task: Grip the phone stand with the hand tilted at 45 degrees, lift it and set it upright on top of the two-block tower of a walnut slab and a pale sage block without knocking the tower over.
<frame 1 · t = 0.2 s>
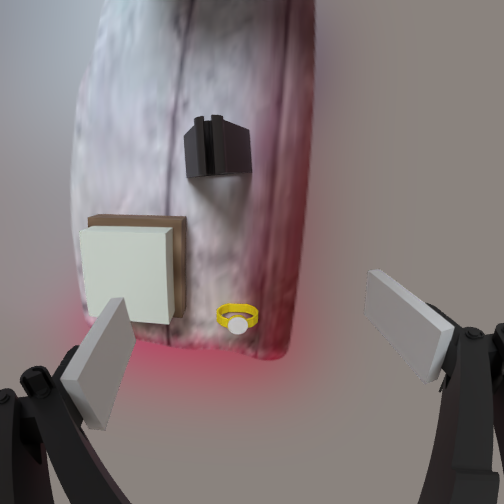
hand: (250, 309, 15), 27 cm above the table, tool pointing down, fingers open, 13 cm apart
phone stand: (217, 153, 39), on the table
lower block: (141, 260, 42), on the table, touching upper block
upper block: (132, 269, 39), point 3 cm above the table, touching lower block
watch: (237, 306, 45), on the table
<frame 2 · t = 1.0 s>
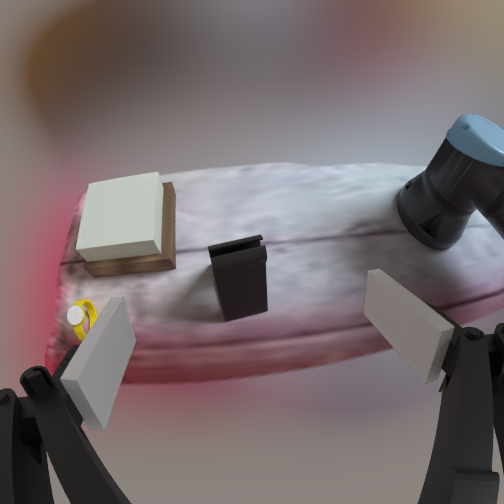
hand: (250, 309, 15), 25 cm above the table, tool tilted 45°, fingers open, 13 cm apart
phone stand: (238, 287, 42), on the table
lower block: (135, 235, 46), on the table, touching upper block
upper block: (125, 223, 42), point 3 cm above the table, touching lower block
watch: (94, 325, 38), on the table
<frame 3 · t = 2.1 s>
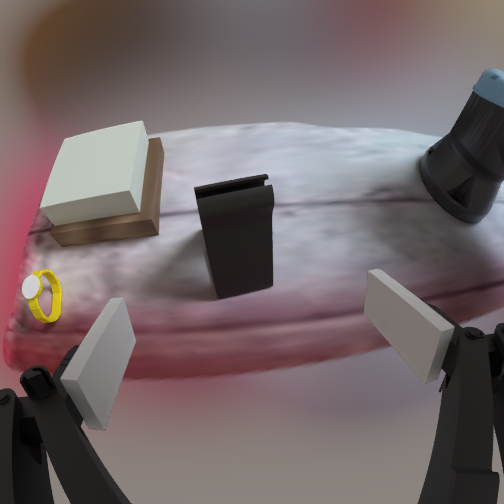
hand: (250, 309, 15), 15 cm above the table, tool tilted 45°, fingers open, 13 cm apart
phone stand: (235, 257, 33), on the table
lower block: (114, 199, 37), on the table, touching upper block
upper block: (101, 180, 34), point 3 cm above the table, touching lower block
watch: (58, 304, 30), on the table
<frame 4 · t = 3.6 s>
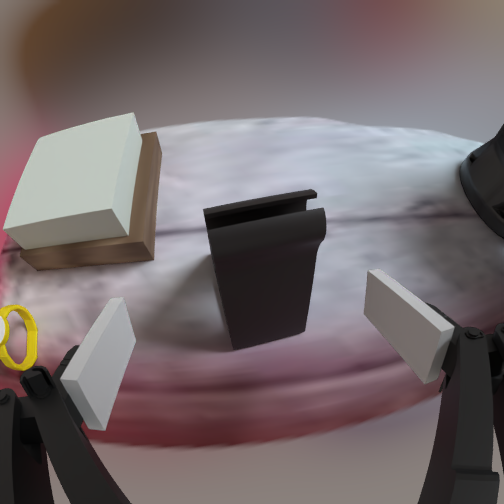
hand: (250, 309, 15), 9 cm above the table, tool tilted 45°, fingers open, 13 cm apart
phone stand: (255, 292, 25), on the table
lower block: (99, 210, 29), on the table, touching upper block
upper block: (82, 191, 25), point 3 cm above the table, touching lower block
watch: (34, 344, 22), on the table
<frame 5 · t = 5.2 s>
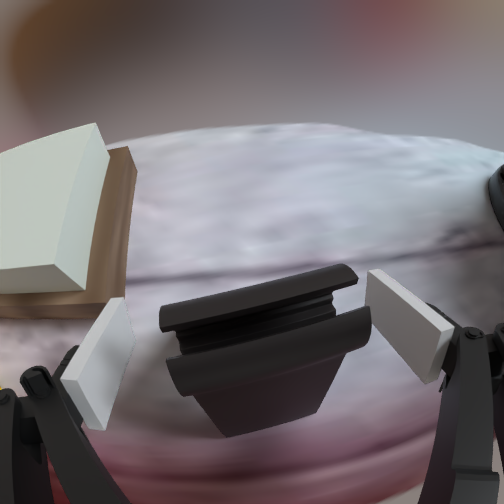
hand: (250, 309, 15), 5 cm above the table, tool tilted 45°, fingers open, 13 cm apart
phone stand: (253, 363, 19), on the table
lower block: (63, 246, 23), on the table
upper block: (37, 223, 19), point 3 cm above the table
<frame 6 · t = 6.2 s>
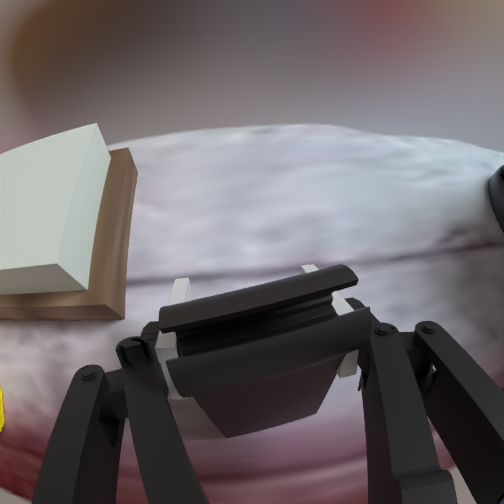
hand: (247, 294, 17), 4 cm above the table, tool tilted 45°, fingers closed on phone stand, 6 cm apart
phone stand: (253, 364, 19), on the table, touching gripper
lower block: (64, 247, 23), on the table, touching upper block
upper block: (38, 224, 19), point 3 cm above the table, touching lower block
watch: (0, 405, 15), on the table
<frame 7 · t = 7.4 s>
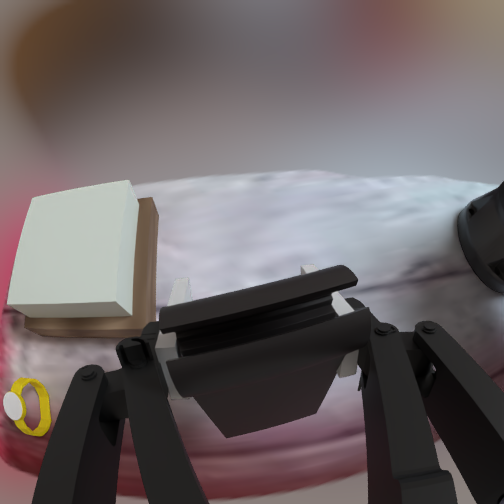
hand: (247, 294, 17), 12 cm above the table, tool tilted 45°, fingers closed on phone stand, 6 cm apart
phone stand: (253, 364, 19), point 8 cm above the table, touching gripper
lower block: (98, 276, 29), on the table, touching upper block
upper block: (81, 259, 26), point 3 cm above the table, touching lower block
watch: (46, 408, 22), on the table
when the fingers open (13 cm above the table, at t = 11.9 s): phone stand drops 2 cm, resting on upper block.
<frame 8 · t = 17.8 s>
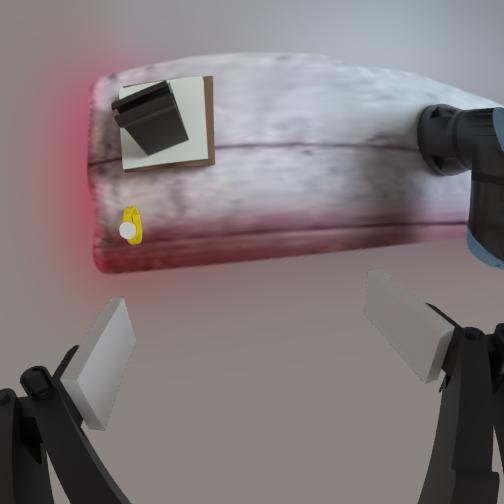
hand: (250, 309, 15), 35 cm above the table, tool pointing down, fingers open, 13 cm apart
phone stand: (159, 118, 36), point 7 cm above the table, touching upper block
lower block: (170, 125, 43), on the table, touching upper block
upper block: (166, 124, 40), point 3 cm above the table, touching phone stand, lower block
watch: (137, 221, 47), on the table
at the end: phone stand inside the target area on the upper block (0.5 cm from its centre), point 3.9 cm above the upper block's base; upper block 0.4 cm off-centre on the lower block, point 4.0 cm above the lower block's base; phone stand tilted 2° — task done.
